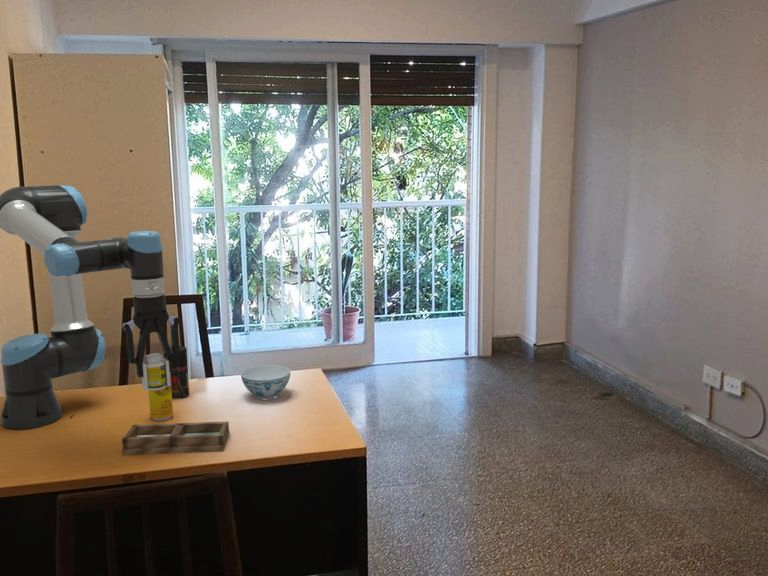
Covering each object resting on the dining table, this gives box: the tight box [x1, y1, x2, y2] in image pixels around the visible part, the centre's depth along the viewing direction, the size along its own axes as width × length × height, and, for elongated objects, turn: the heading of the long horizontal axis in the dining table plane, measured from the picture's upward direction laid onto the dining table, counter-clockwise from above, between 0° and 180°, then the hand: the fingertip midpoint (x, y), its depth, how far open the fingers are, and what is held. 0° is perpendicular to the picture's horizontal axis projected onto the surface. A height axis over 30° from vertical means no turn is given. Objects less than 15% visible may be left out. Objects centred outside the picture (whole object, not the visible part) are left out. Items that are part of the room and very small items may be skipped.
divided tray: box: [121, 421, 230, 456], centre depth 170 cm, size 24×11×4 cm, turn 95°
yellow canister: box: [148, 375, 174, 422], centre depth 187 cm, size 6×6×15 cm
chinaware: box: [240, 364, 291, 400], centre depth 205 cm, size 15×15×8 cm
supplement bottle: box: [145, 352, 166, 391], centre depth 166 cm, size 5×5×8 cm
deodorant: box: [169, 345, 190, 400], centre depth 205 cm, size 6×6×15 cm
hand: (156, 386), depth 167 cm, fingers closed on supplement bottle, 5 cm apart
